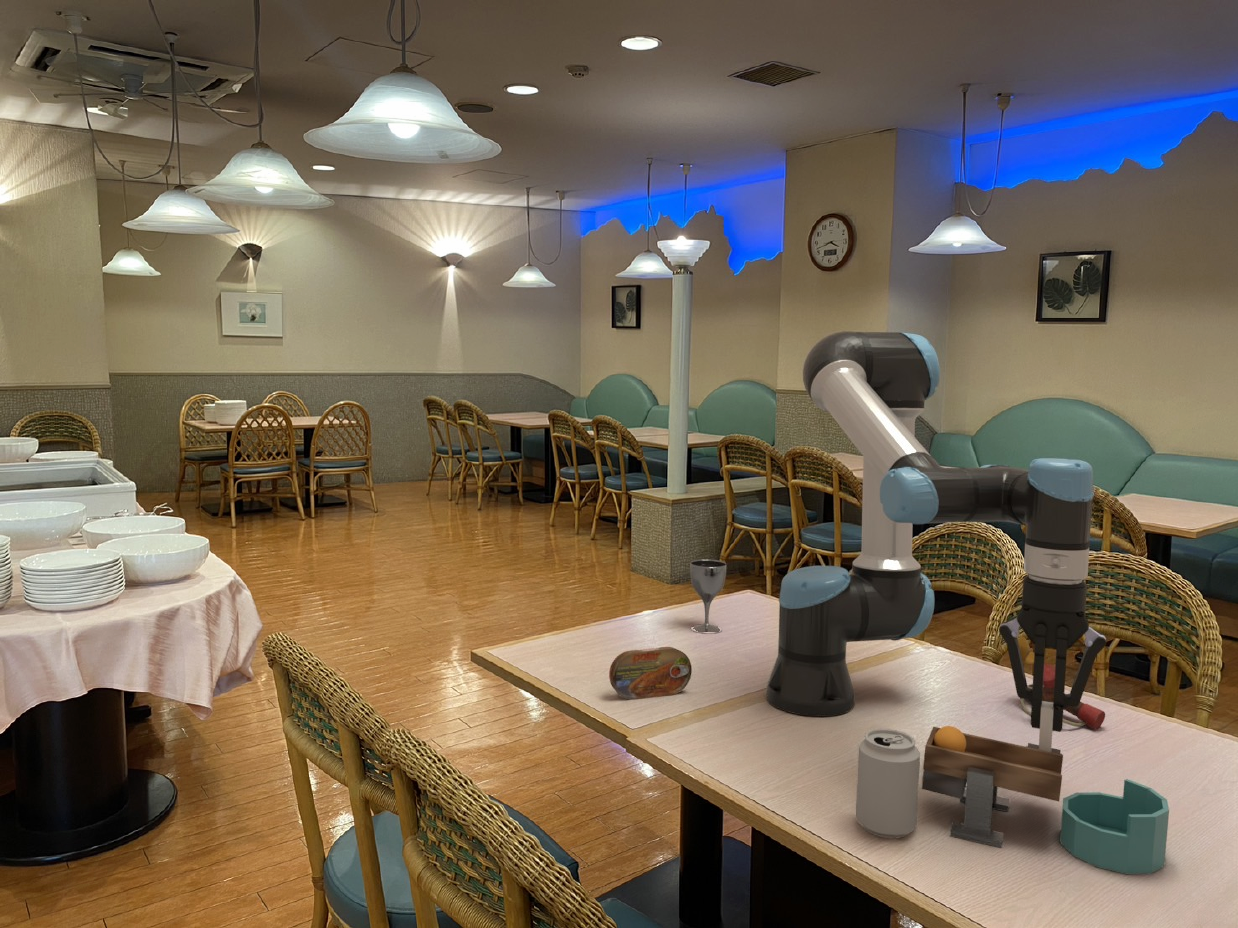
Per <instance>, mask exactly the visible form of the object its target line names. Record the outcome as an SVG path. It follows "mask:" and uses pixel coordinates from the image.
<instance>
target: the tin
mask: <svg viewBox="0 0 1238 928" xmlns="http://www.w3.org/2000/svg"><path fill="white" fill-rule="evenodd" d="M608 672H609V673H608V674H609V676H608V677H609V682H610V685H611V687H612V689H613V690H614V691H615V692H616V693H617V694H618V695H619V696H620V697H621V698H623V699H625V700H629V701H631V700H632V701H635V700H642V699H649V698H651V699H652V698H659V697H667V696H674V695H677V694H678V693H681V692H682V691H683V690H684V689H685V688H686V687H687V686H688V684H689V682H690V680H691V677H692V672H693V670H692V663H691V661H690V659H689V656H688V655H687V654H686V653H685V652H683V651H682V650H679V649H677V648H675V647H673V646H661V647H655V648H654V647H651V648H643V649H634V650H633V649H632V650H626V651H623V652H622V653H620V654H618V655H617V656H616V657H615V658H614V660H613V661H612V662H611V664H610V668H609V671H608Z"/></svg>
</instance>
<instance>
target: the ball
mask: <svg viewBox="0 0 1238 928" xmlns="http://www.w3.org/2000/svg"><path fill="white" fill-rule="evenodd" d="M939 728H940V729H939V730H938V731H937V732H936V734H935V737H934V744H935V746H937V747H941V748H946V749H950V750H955V751H959V752H964V751H965V748H966V739H965V736H964V735H963V732H962V731H961V730H960V729H959V728H957V727H955V726H950V725H946V726H942V727H939Z"/></svg>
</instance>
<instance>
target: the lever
mask: <svg viewBox="0 0 1238 928" xmlns="http://www.w3.org/2000/svg"><path fill="white" fill-rule="evenodd" d="M940 728H941V727H937V726H932V729H931V732H930V734H929V736H928V739H927V742H926V743H925V745H924V756H923V758H924V759H923V768H922V769H923V771H922V772H923V774H922V783H921V790H924V791H929V792H931V793H936V794H940V795H943V796H948V797H951V798H956V799H959V800H960V799H962V798H963V794H964V791H965V789H966V788H967V772H968V768H969V767H974V768H979V769H984V770H989V771H994V786H995V787H998V788H1000V789H1005V790H1009V791H1012V792H1016V793H1021V794H1026V795H1029V796H1034V797H1037V798H1043V799H1047V800H1050V801H1053V802H1054V801H1055V802H1060V798H1061V789H1062V781H1063V774H1062V769H1063V761H1064V760H1063V759H1064V754H1063V753H1061V752H1062V751H1061V749H1058V748H1053V747H1051V752H1048V751H1043V750H1039V744H1035V743H1031V742H1028V743H1027V745H1026V746H1025V745H1019V744H1015V743H1010V742H1006V741H1002V740H996V739H994V738H993V739H992V738H988V737H984V736H977V735H974V734H969V733H966V732H964V733H963V732H962V733H963V735H964V736H965V739H966V748H965V751H964V752H959V751H955V750H950V749H946V748H941V747H937V746H935V744H934V737H935V734H936V732H937V731H938V730H939V729H940Z"/></svg>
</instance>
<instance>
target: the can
mask: <svg viewBox="0 0 1238 928" xmlns="http://www.w3.org/2000/svg"><path fill="white" fill-rule="evenodd" d="M863 737H864V738H863V740H862V741H860V743H859V745H858V753H857V755H858V757H857V774H856V775H857V780H856V798H855V800H856V801H855V802H856V803H855V819H856V821H857V822H858V823H859V824H860V825H861V826H862V827H863V829H865V830H866V831H867V832H868V833H870V834H872V835H874V836H877V837H881V838H885V839H900V838H903V837H906V836H907V835H908V834H910V833H912V832H913V831H914V830H915V829H916V828H917V816H918V799H919V780H920V779H919V778H920V762H921V761H920V760H921V751H920V750H919V748H917V746H916V740H915V738H914V737H912V736H911V735H910V734H908V733H906V732H904V731H901V730H897V729H892V728H874V729H870V730H868V731H867V732H865V734H864V736H863Z"/></svg>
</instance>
